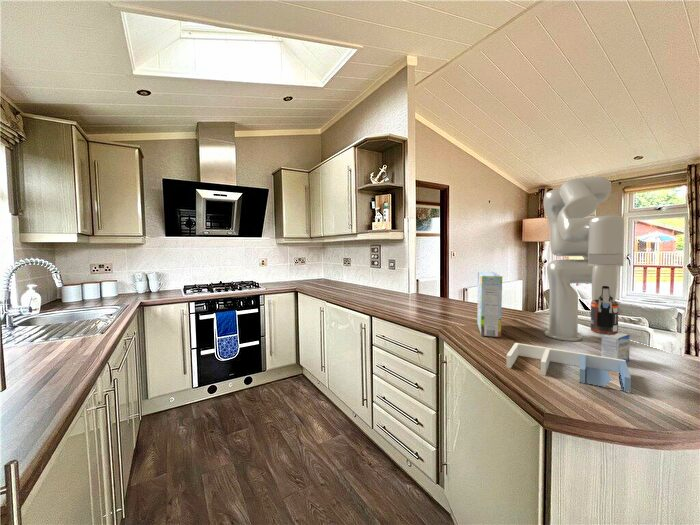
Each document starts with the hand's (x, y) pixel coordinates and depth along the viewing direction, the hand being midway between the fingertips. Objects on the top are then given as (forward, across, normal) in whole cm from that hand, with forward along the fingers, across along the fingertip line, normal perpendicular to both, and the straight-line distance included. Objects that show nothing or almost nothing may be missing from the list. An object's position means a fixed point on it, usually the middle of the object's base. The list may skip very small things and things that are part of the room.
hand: (604, 323), depth 85 cm
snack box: (+16, -33, -38) cm, 53 cm away
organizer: (+16, 0, -9) cm, 18 cm away
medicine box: (+16, -18, +4) cm, 24 cm away
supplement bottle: (+3, 0, 0) cm, 3 cm away
